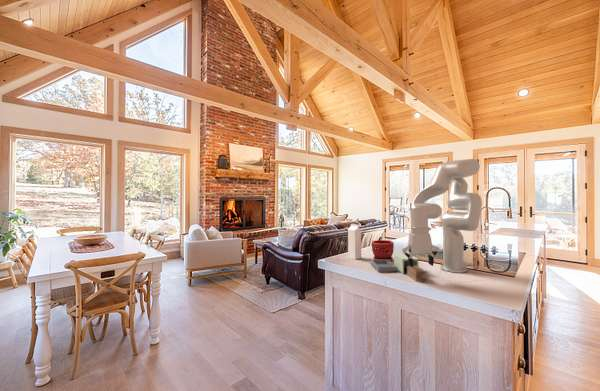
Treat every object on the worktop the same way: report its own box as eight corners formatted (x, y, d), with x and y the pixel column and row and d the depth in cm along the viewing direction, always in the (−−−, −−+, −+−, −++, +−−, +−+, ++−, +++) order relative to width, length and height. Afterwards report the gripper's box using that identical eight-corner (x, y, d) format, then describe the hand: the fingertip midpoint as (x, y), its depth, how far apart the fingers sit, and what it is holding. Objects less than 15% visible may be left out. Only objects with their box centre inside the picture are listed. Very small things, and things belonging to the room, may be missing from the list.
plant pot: (395, 259, 165) (395, 240, 165) (391, 264, 154) (390, 244, 154) (375, 256, 172) (375, 238, 172) (369, 261, 161) (368, 242, 160)
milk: (355, 259, 165) (354, 225, 165) (348, 257, 170) (347, 224, 170) (361, 258, 169) (361, 224, 169) (354, 256, 174) (353, 223, 173)
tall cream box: (408, 267, 148) (408, 253, 148) (418, 273, 136) (418, 258, 136) (394, 267, 148) (393, 253, 148) (402, 273, 136) (402, 259, 136)
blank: (416, 275, 134) (416, 265, 134) (426, 281, 124) (426, 271, 124) (407, 275, 134) (407, 265, 134) (415, 282, 124) (415, 271, 124)
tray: (387, 264, 154) (387, 259, 154) (396, 271, 139) (396, 266, 139) (370, 264, 154) (370, 259, 154) (378, 272, 139) (378, 267, 139)
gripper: (433, 228, 129) (434, 262, 130) (398, 230, 129) (400, 264, 130) (441, 230, 122) (443, 266, 122) (405, 233, 122) (406, 269, 122)
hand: (421, 265), depth 126 cm, fingers open, 9 cm apart
